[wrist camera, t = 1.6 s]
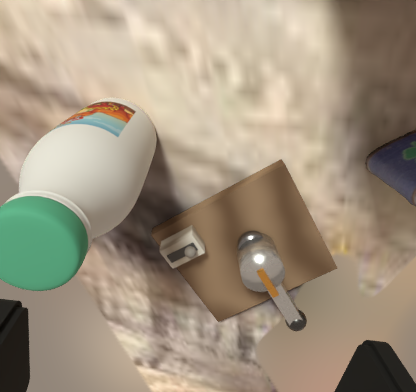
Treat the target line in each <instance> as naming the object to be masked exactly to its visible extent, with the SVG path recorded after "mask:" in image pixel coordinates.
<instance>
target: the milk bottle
mask: <svg viewBox="0 0 416 392" xmlns="http://www.w3.org/2000/svg"><path fill="white" fill-rule="evenodd" d="M156 142H157V138H156V131H155V128H154V125H153V123H152V121H151V119H150V118H149V116H148V115H147V114H146V113H145V111H144V110H143V109H141V108H140V107H139V106H137V105H136V104H134V103H132V102H130V101H128V100H125V99H121V98H104V99H100V100H98V101H95V102H93V103H92V104H90V105H88V106H87V107H85V108H83V109H82V110H80V111H79V112H77V113H76V114H74V115H73V116H71V117H70V118H68V119H67V120H65V121H64V122H62V123H61V124H60V125H58V126H57V127H55V128H54V129H52V130H51V131H50V132H49V133H47V134H46V135H45V136H44V137H42V138H41V139H40V140H39V141H38V142H37V144H36V145H35V146H34V147H33V148H32V150H31V151H30V152H29V154H28V156H27V158H26V160H25V162H24V164H23V167H22V170H21V174H20V180H19V194H16V195H15V196H13V197H11V198H10V199H9V200H8V201H6V203H5V204H4V205H2V206H1V207H0V279H1V280H3V281H4V282H6V283H9V284H10V285H13V286H15V287H18V288H22V289H26V290H32V291H44V290H51V289H55V288H57V287H60V286H62V285H63V284H65V283H67V282H68V281H69V280H70V279H71V278H72V277H73V276H74V275H75V274H76V273H77V271H78V270H79V268H80V267H81V265H82V263H83V261H84V259H85V256H86V254H87V252H88V250H89V248H90V246H91V243H92V239H93V238H96V237H98V236H101V235H103V234H105V233H107V232H109V231H110V230H112V229H113V228H115V227H116V226H117V225H119V224H120V223H121V222H122V221H123V220H124V219H125V218H126V216H127V215H128V214H129V213H130V211H131V210H132V208H133V207H134V205H135V203H136V201H137V199H138V197H139V194H140V192H141V190H142V187H143V184H144V182H145V179H146V176H147V173H148V171H149V168H150V165H151V162H152V159H153V156H154V153H155V149H156Z"/></svg>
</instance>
